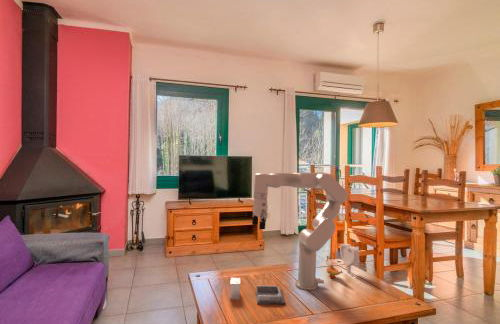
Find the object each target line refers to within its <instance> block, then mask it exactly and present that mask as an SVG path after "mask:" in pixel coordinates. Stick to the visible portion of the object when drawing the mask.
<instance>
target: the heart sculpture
mask: <svg viewBox="0 0 500 324" xmlns="http://www.w3.org/2000/svg"><path fill="white" fill-rule="evenodd" d="M339 251H340V252H339V253H340V256H341V258H342V261H343V262H344V265H345V267H346V269H341V270H342V272H344V273H345V274H347V275H348V276H350V277H357V276H356V275H355V274H354V273H352V271H351V269H352V268H351V267H352V266H354V265H356V264H357V263H358V261H359V259H360V258H359V257H360V251H359V249H358V248H357V247H355V246H352V245H351V244H349V243H341V244H340V246H339ZM344 273H343V274H344ZM351 273H352V274H351ZM345 274H344V275H345ZM347 275H346V276H347ZM354 275H355V276H354ZM348 276H347V277H348Z"/></svg>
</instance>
